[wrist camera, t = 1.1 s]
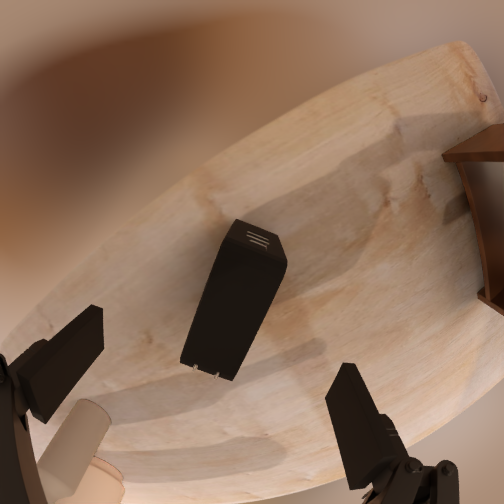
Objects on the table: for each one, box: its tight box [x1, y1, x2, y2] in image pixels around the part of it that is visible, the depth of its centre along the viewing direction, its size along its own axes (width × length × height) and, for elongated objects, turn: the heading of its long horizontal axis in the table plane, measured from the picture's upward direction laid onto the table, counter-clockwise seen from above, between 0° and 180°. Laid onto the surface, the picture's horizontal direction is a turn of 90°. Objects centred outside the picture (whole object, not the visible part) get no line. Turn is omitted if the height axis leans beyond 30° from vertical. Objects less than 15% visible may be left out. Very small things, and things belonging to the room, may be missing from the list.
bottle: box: [36, 399, 111, 504], centre depth 20 cm, size 7×7×28 cm
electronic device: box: [180, 219, 287, 381], centre depth 22 cm, size 4×10×10 cm, turn 158°
